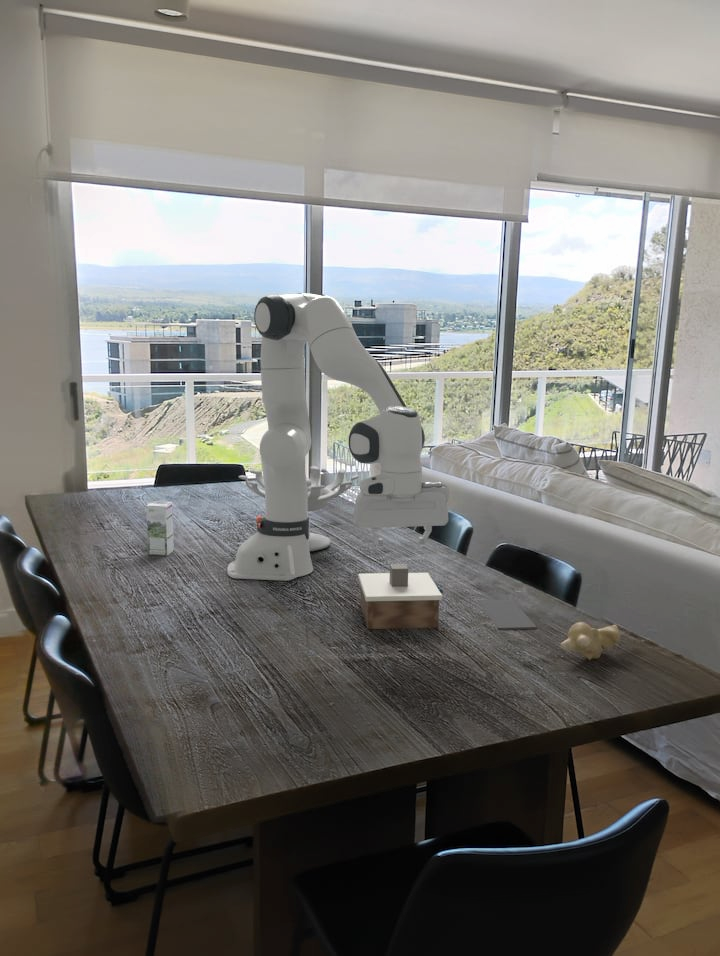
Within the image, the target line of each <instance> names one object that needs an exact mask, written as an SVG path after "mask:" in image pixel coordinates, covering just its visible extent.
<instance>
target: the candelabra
mask: <svg viewBox="0 0 720 956" xmlns="http://www.w3.org/2000/svg"><path fill="white" fill-rule="evenodd" d="M309 469H310V474H309V478H308V477H306V483H307V487H308V513H309V512H314V511H320V510H322V509H324V508H325V507H326V505H327V503H328V502H329V501H331V500H333V499H335V498H337V497H339V496H340V495H343V493H346V492H347V491H348V490H350V489H351V487H352V486H353V485H354V481H355V480H357V479H359V478H360V475H359V474H356V475H355V474H354V475H351V476H350V480H349V481H348V480H347V481H344V478H345V477H344V475H345V474H346V469H338V471H337V475H336V478H335V479H334V480H333V481H332V482H331V483H329V484H328V485H326V486H325V485H319V484H318V483H319V481H320V479H321V470H320V468H319V467H317V466H315V465H312V466H310V467H309ZM248 471H249V473H250V474H253V475H255V479H256V481H257V482H256V481H249V477H248V476H247V475H238V479H241V480H245V485H246V486H247V488H248V489H250V490H251V491H252V492H253V493H255V494H256V495H258V496H259V497H262V498H264V499H265V485H264V478H263V471H261V470H259V469H250V470H248ZM258 484H259V485H260V486H261V487H262V488H263V489H264V490H263V489H260V488H259V487H258ZM338 487H339V488H338ZM336 488H338V489H336ZM308 543H309V551H310V552H315V551H320V550H323V549H326V548H328V547H329V546H330V545H331V544H332V542H331V539H330V538H329V537H327V536H325V535H322V534H319V533H313V532H310V536H309V539H308Z"/></svg>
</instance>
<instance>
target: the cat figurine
mask: <svg viewBox="0 0 720 956" xmlns="http://www.w3.org/2000/svg"><path fill="white" fill-rule="evenodd" d="M620 640H621V633H620V630H619V628H618V625H617V624H612V625H609V626H605V627H602V628H595V627H591V626H590V624H588V623H586V622H584V621H578V622H576V623H574V624H573V625H571V626H570V628H569V630H568V631H567V639H565V640H564V641H562V642H561V643H560V647H561V648H562V649H563V650H565V651H575V652H576V653H577V654H579V655H581V656H583V657H585V658H586V659H588V661H592V660H594V659H595V660H597V659H600V657H601V655H602V652H605V651H610V650H611V649H613V647H614V645H616V644H618V643H619V642H620Z"/></svg>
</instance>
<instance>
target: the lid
mask: <svg viewBox="0 0 720 956" xmlns="http://www.w3.org/2000/svg"><path fill="white" fill-rule="evenodd" d="M357 575H358V577H357V578H358V581H359V584H360V588H361V587H362V591H363V594H364V597H365V600H366V601H412V600H439V601H442V600H443V595H442V593H441V591H440V590H438V588H437V586H436V585H435V583H436V582H435V581H434V580H433V578H432V576H431V575H430V573H429V572H409V568H408V566H407V564H406V563H395V564H394V563H390V564H389V572H386V573H385V572H384V573H383V572H381V573H379V572H377V573H375V572H374V573H370V572H369V573H357Z"/></svg>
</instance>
